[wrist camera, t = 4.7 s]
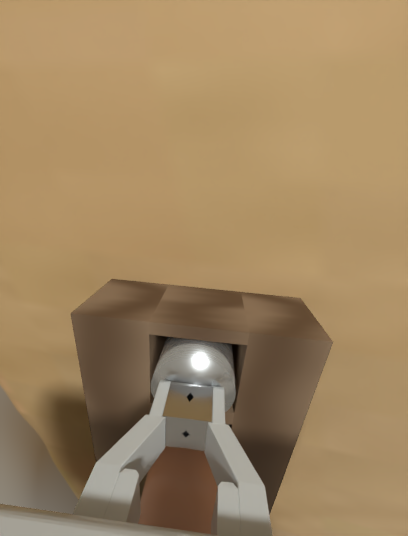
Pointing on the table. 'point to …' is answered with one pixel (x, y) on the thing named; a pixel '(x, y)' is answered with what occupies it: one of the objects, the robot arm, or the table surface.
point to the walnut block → (207, 329)
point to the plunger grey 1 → (197, 365)
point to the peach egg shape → (179, 491)
